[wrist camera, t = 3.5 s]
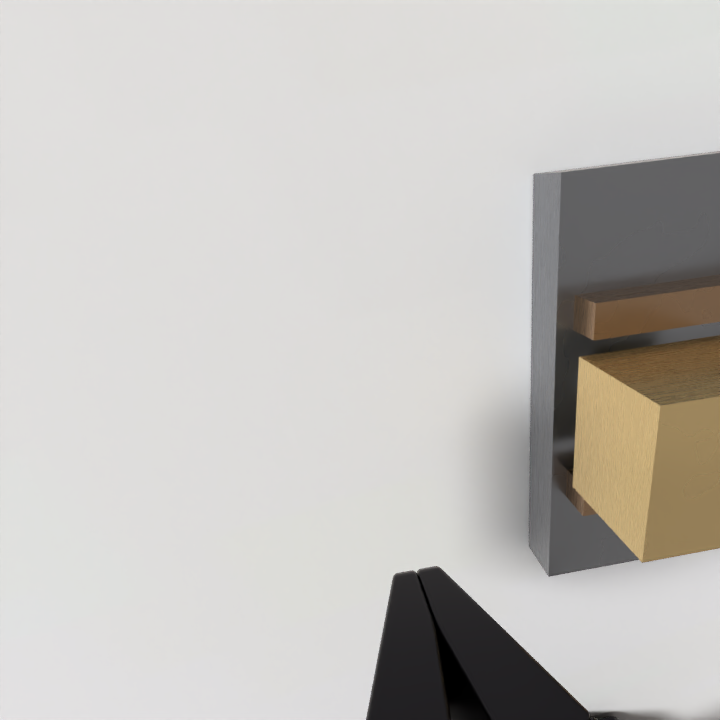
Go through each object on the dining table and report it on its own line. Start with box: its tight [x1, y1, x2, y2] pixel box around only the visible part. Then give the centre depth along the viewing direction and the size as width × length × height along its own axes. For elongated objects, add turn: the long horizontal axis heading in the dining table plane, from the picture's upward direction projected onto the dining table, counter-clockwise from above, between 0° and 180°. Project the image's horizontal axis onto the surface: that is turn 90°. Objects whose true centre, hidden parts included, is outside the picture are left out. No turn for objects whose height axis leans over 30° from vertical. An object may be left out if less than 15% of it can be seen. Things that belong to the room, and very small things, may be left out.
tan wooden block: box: [573, 335, 720, 563], centre depth 12 cm, size 4×4×4 cm
